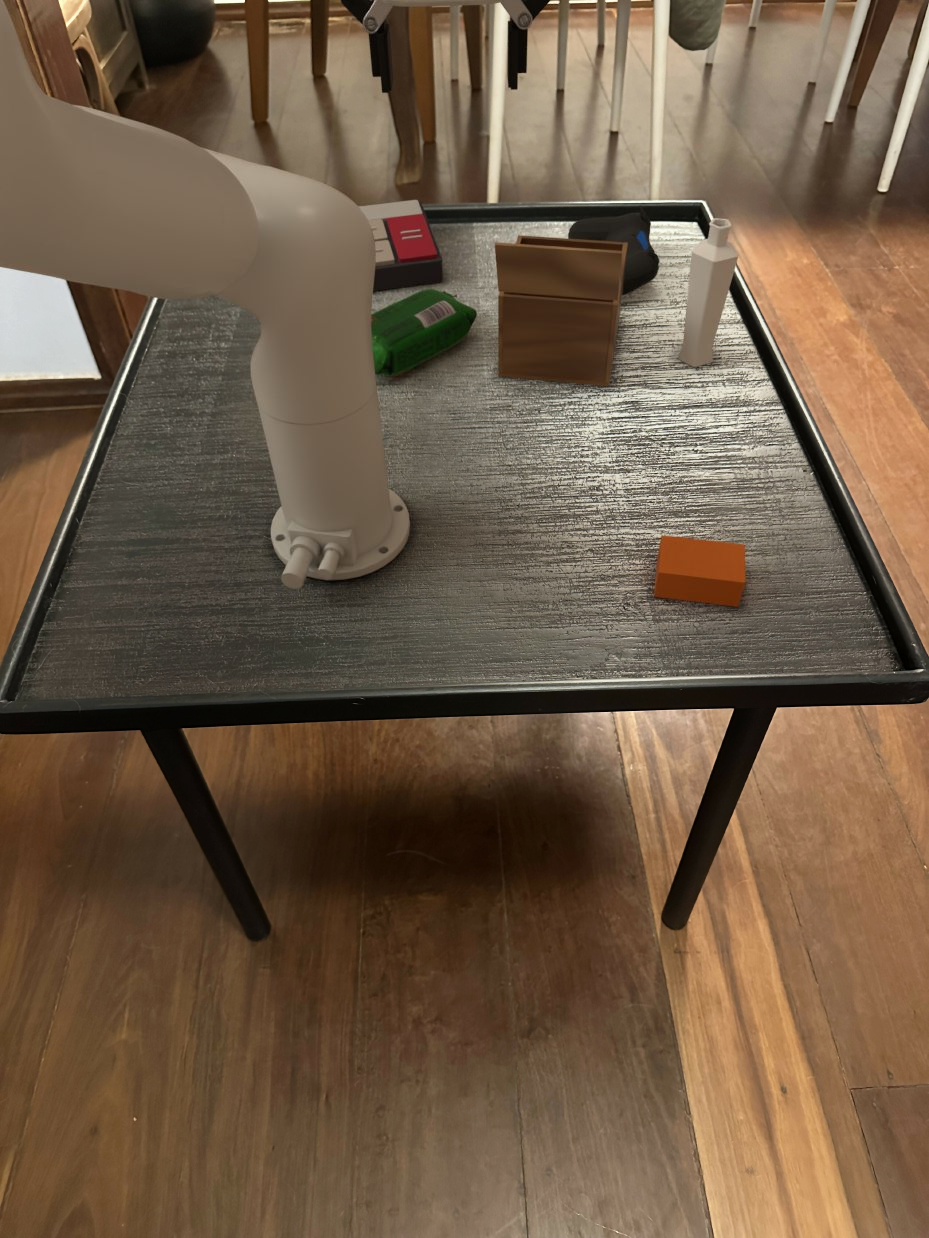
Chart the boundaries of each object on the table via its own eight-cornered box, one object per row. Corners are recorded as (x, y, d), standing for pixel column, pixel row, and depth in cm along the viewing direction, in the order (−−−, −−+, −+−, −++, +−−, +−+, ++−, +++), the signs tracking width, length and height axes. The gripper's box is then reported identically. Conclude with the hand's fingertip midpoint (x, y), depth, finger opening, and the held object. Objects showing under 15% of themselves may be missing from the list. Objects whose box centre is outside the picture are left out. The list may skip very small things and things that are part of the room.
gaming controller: (591, 329, 109) (669, 288, 105) (568, 291, 106) (648, 247, 102) (582, 260, 120) (653, 220, 116) (562, 223, 117) (634, 181, 113)
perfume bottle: (672, 366, 100) (694, 232, 88) (676, 344, 103) (698, 211, 91) (715, 371, 99) (743, 236, 88) (717, 349, 102) (745, 215, 90)
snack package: (489, 337, 105) (488, 295, 101) (381, 392, 98) (376, 349, 94) (448, 314, 108) (446, 272, 104) (341, 365, 102) (335, 323, 98)
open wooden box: (609, 386, 98) (617, 305, 91) (498, 376, 99) (498, 296, 92) (619, 321, 106) (628, 242, 99) (516, 313, 108) (518, 235, 101)
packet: (738, 607, 77) (745, 582, 74) (653, 596, 78) (658, 572, 75) (738, 569, 79) (745, 544, 77) (656, 559, 81) (661, 534, 78)
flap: (618, 298, 90) (617, 300, 90) (498, 289, 92) (498, 291, 92) (622, 250, 84) (622, 253, 84) (495, 242, 86) (494, 244, 86)
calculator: (351, 265, 109) (336, 204, 118) (355, 298, 112) (340, 235, 121) (442, 254, 110) (420, 193, 119) (443, 286, 113) (422, 225, 123)
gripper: (296, -199, 55) (333, 106, 68) (582, -208, 55) (565, 101, 68) (310, -217, 60) (342, 71, 73) (573, -226, 60) (559, 65, 73)
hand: (450, 85), depth 71 cm, fingers open, 9 cm apart
